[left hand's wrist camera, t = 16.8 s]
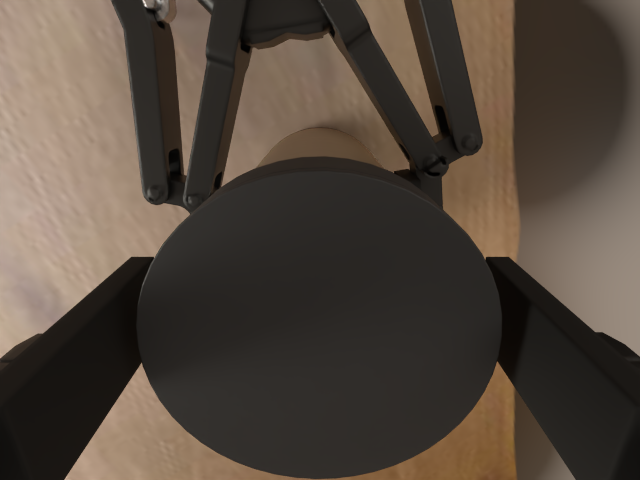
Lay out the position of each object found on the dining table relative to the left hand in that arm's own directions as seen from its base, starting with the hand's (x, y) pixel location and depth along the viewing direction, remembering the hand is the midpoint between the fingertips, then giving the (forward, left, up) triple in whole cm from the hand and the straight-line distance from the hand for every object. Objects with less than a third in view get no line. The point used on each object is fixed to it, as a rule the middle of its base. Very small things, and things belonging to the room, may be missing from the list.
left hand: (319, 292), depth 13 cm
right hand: (-5, -1, -7) cm, 9 cm away
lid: (0, 0, +3) cm, 3 cm away
